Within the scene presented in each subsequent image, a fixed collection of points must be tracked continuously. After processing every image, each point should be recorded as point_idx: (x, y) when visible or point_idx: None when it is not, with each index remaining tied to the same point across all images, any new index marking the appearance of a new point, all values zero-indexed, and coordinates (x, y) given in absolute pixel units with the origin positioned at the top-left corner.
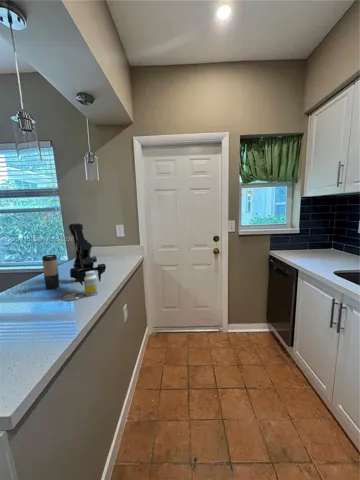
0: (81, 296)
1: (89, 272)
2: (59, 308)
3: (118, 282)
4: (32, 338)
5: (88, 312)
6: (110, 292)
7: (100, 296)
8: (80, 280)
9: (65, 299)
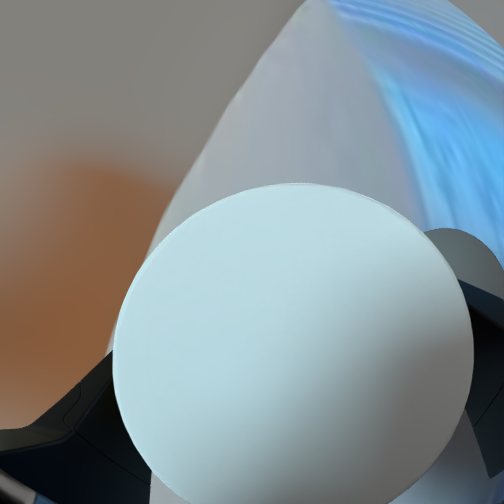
0: None
1: (315, 220)
2: (471, 139)
3: None
4: (427, 6)
5: (302, 43)
6: None
7: None
8: (473, 290)
9: (490, 256)
